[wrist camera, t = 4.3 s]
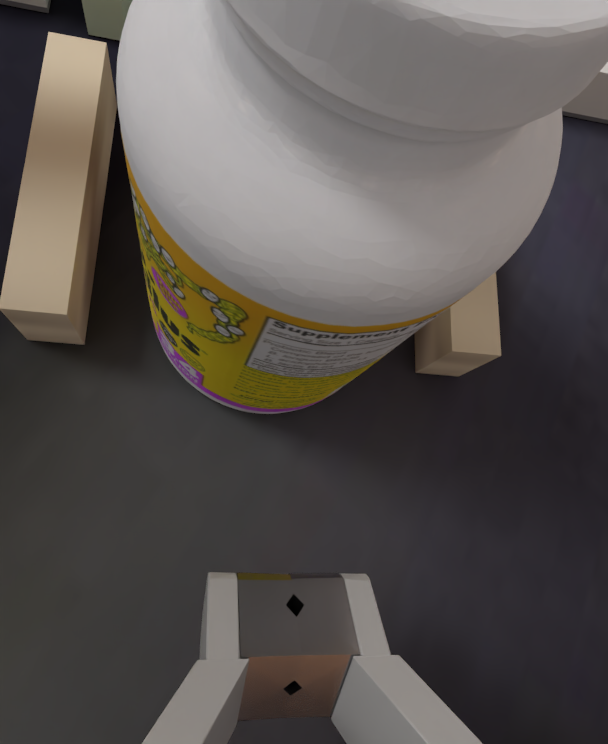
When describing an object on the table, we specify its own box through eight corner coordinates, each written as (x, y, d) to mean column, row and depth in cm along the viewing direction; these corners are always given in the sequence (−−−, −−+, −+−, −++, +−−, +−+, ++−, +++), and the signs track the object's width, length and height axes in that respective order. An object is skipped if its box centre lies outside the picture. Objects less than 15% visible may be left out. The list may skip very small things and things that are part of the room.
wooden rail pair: (458, 376, 18) (501, 355, 15) (27, 339, 15) (-2, 308, 13) (449, 162, 20) (485, 114, 17) (67, 97, 17) (48, 31, 15)
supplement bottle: (148, 213, 17) (56, -570, 5) (352, 217, 18) (689, -363, 6) (155, 428, 15) (47, 108, 3) (377, 414, 17) (889, 161, 5)
